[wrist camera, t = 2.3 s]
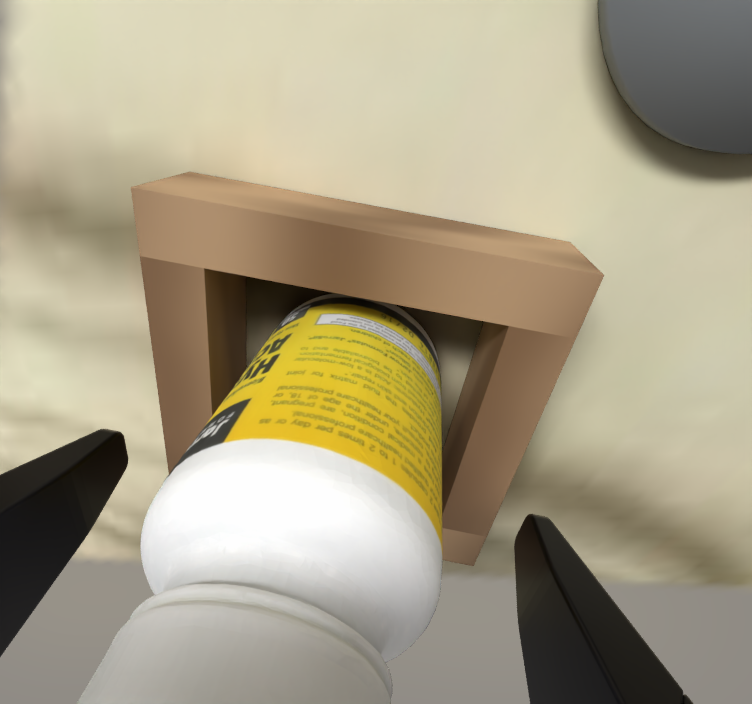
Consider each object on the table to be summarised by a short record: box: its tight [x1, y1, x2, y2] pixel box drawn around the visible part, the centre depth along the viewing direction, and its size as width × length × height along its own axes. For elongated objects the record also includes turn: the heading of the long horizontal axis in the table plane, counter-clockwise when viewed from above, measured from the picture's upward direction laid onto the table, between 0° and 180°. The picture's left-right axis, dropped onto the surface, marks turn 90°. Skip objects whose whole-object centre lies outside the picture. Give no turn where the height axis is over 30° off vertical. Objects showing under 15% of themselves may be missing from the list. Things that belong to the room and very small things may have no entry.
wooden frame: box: [131, 172, 604, 566], centre depth 12 cm, size 10×10×2 cm
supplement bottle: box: [77, 293, 443, 704], centre depth 9 cm, size 5×5×10 cm
